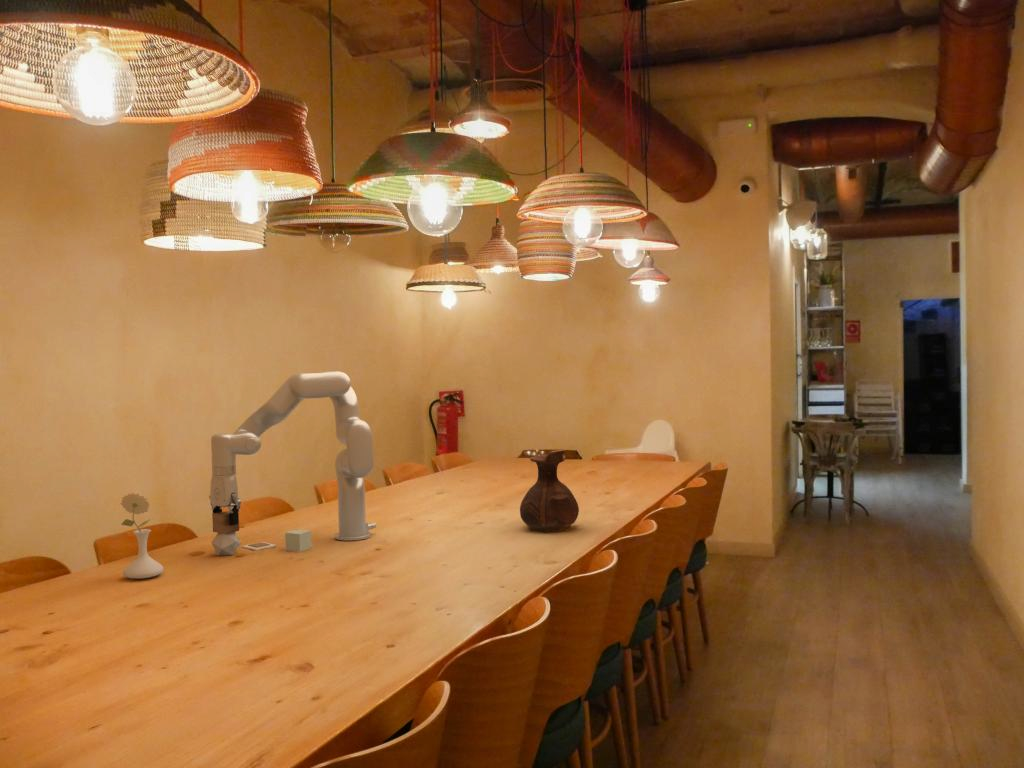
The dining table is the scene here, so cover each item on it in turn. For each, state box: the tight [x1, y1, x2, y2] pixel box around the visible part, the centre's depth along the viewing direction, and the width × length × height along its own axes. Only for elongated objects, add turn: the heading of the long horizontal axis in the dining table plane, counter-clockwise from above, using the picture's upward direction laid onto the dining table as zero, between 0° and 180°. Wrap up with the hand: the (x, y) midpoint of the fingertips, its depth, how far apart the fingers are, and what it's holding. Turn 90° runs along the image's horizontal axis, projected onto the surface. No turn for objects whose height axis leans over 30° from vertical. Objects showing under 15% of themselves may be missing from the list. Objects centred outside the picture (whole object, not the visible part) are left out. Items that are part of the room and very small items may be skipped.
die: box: [211, 531, 242, 556], centre depth 293 cm, size 8×9×10 cm
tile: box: [241, 541, 277, 551], centre depth 304 cm, size 8×8×1 cm
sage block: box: [284, 529, 312, 553], centre depth 299 cm, size 6×6×6 cm
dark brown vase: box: [519, 449, 580, 532], centre depth 325 cm, size 22×22×30 cm
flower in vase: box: [120, 492, 165, 580], centre depth 265 cm, size 13×11×25 cm
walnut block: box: [211, 510, 240, 534], centre depth 293 cm, size 6×6×6 cm
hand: (225, 523), depth 293 cm, fingers open, 9 cm apart
